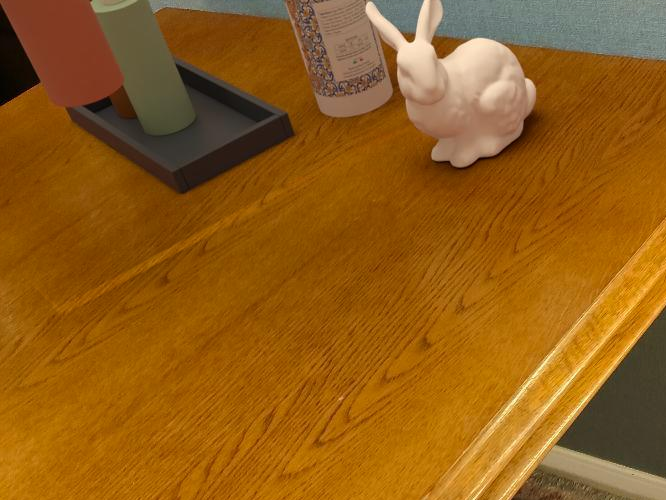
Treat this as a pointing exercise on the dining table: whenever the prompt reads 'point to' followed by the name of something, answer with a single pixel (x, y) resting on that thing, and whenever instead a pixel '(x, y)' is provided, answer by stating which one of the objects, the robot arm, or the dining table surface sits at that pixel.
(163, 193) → the dining table surface
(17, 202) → the dining table surface
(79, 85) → the terracotta bottle
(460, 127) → the rabbit
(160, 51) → the sage bottle
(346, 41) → the bath foam
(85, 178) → the dining table surface
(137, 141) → the tray
